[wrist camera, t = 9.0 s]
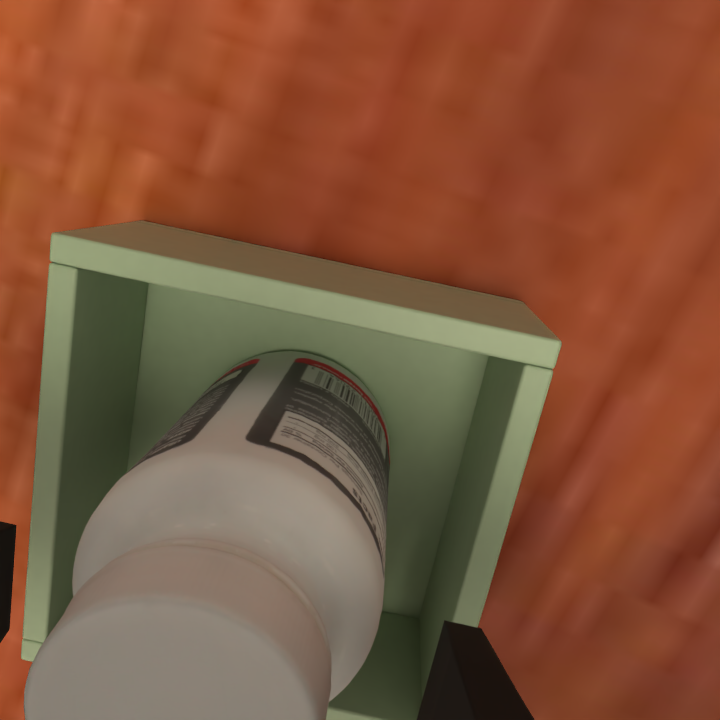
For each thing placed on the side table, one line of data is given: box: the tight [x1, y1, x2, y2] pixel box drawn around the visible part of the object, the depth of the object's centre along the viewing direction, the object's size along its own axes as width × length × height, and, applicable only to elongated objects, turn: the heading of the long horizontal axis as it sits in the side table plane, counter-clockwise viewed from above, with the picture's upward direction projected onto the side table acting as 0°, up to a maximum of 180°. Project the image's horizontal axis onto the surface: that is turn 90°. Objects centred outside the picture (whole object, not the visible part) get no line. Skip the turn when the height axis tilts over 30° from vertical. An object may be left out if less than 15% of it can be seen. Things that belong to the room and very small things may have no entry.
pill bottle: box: [24, 351, 390, 720], centre depth 13 cm, size 5×5×10 cm
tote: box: [21, 220, 562, 720], centre depth 16 cm, size 10×10×4 cm
